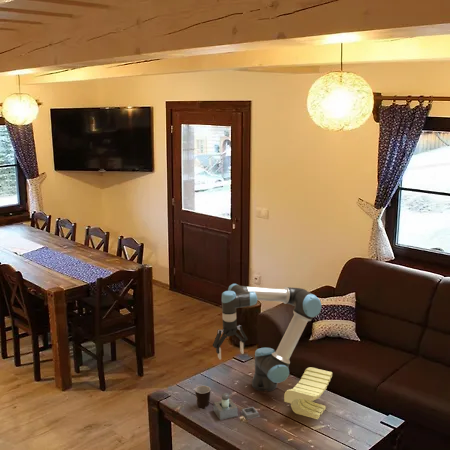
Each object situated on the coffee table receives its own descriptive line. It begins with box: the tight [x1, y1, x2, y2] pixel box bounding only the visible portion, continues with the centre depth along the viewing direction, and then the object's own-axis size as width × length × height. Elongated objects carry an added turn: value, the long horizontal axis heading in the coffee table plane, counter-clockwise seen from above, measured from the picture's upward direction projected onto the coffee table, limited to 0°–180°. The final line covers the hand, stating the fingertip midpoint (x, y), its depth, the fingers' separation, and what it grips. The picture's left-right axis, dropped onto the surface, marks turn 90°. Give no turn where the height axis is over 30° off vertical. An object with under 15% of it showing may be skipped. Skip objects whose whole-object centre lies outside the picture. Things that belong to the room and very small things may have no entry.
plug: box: [221, 392, 230, 408], centre depth 306 cm, size 4×4×12 cm
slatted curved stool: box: [283, 366, 333, 420], centre depth 310 cm, size 30×16×18 cm, turn 150°
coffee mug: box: [194, 385, 211, 410], centre depth 317 cm, size 12×9×10 cm
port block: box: [212, 398, 239, 421], centre depth 307 cm, size 10×10×6 cm
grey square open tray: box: [240, 406, 261, 420], centre depth 306 cm, size 8×8×3 cm
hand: (230, 355), depth 311 cm, fingers open, 13 cm apart
